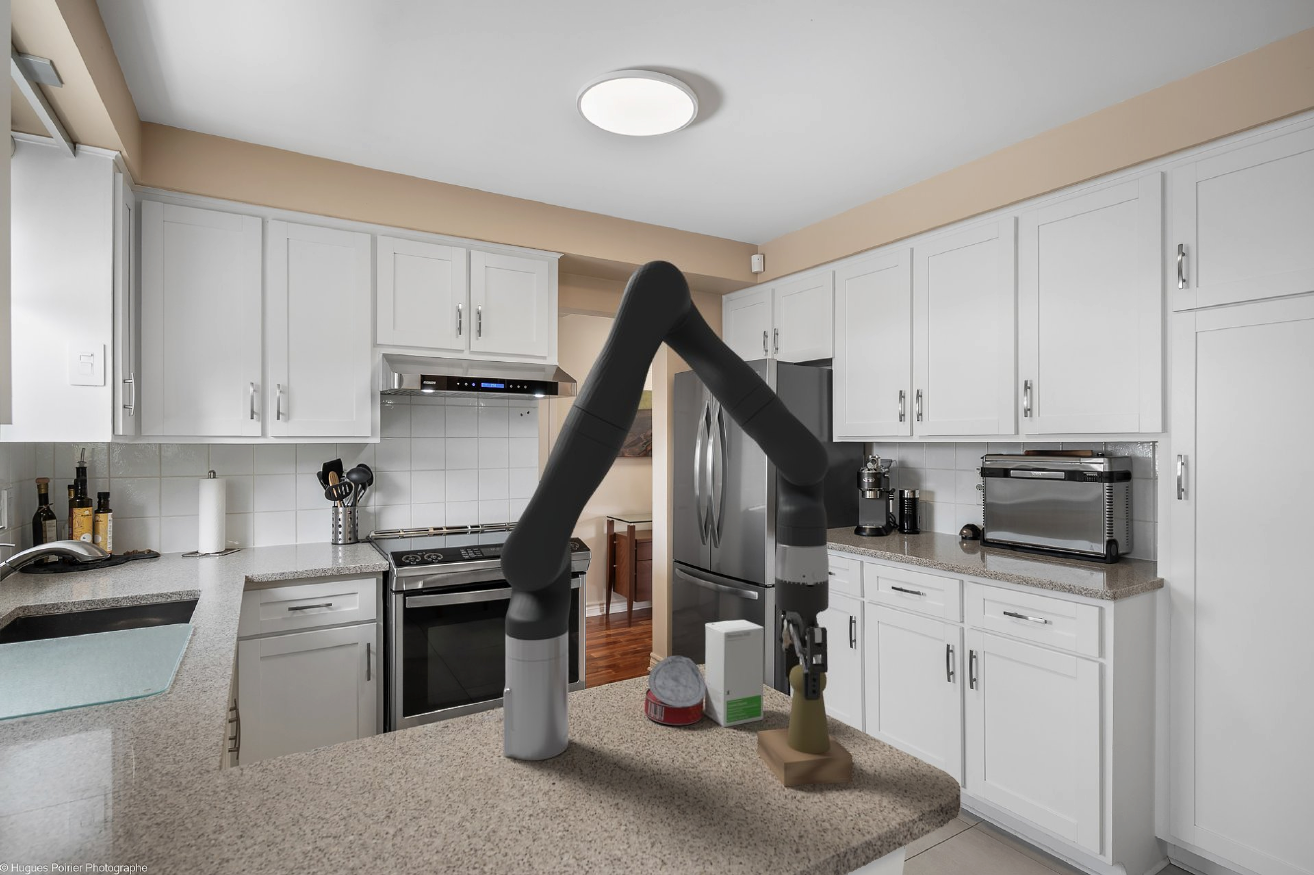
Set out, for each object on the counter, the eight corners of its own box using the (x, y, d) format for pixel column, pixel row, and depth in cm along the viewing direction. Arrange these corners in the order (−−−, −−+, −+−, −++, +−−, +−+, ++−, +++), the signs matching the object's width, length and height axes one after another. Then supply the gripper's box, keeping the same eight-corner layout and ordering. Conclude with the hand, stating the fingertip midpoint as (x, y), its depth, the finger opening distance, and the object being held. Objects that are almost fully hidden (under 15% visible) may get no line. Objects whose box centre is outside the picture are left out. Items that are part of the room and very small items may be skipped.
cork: (833, 755, 92) (832, 675, 92) (788, 752, 93) (787, 673, 93) (827, 735, 98) (826, 660, 98) (785, 733, 99) (784, 659, 99)
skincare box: (723, 729, 108) (723, 633, 108) (702, 714, 114) (702, 622, 114) (765, 719, 112) (765, 626, 112) (743, 705, 118) (743, 617, 118)
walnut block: (784, 792, 90) (784, 762, 90) (757, 758, 100) (757, 731, 100) (852, 784, 92) (852, 755, 92) (819, 751, 102) (819, 725, 102)
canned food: (698, 735, 115) (728, 689, 114) (670, 750, 107) (702, 700, 105) (651, 689, 121) (679, 645, 119) (621, 700, 112) (651, 652, 111)
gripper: (762, 565, 103) (762, 671, 102) (791, 586, 88) (791, 709, 88) (810, 565, 103) (809, 669, 103) (846, 585, 89) (845, 706, 89)
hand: (801, 687), depth 96 cm, fingers open, 8 cm apart
